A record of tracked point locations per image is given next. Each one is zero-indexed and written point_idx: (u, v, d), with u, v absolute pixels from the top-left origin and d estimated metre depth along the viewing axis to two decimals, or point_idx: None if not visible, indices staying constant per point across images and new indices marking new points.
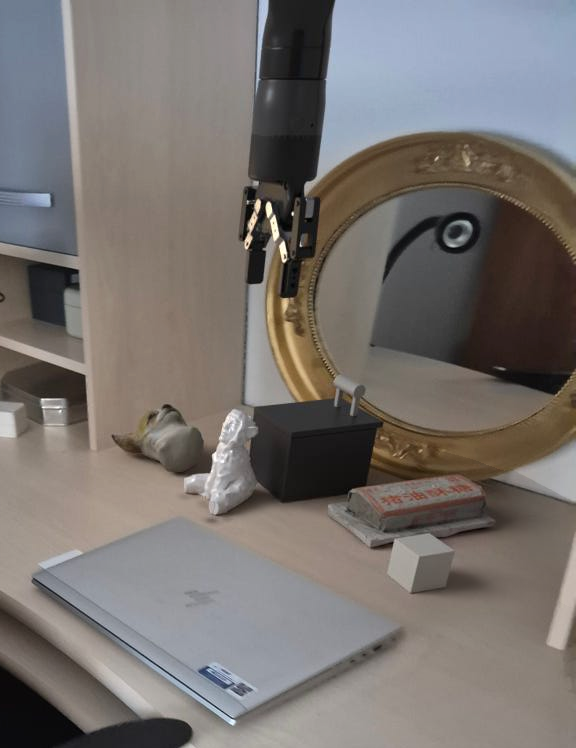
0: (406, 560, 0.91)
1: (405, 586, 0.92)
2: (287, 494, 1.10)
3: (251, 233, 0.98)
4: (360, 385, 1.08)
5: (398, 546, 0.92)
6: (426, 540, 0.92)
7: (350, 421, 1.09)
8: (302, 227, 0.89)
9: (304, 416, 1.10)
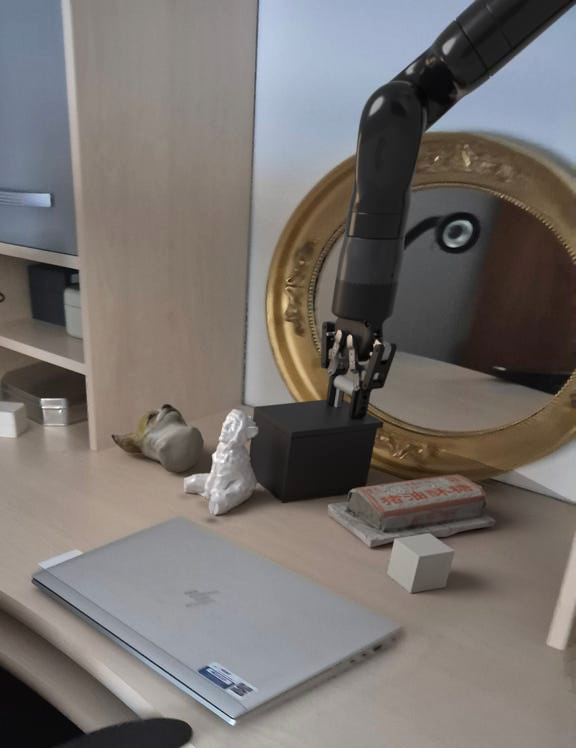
0: (406, 560, 0.91)
1: (405, 586, 0.92)
2: (287, 494, 1.10)
3: (334, 360, 1.10)
4: None
5: (398, 546, 0.92)
6: (426, 540, 0.92)
7: (350, 421, 1.09)
8: (377, 368, 1.03)
9: (304, 417, 1.10)
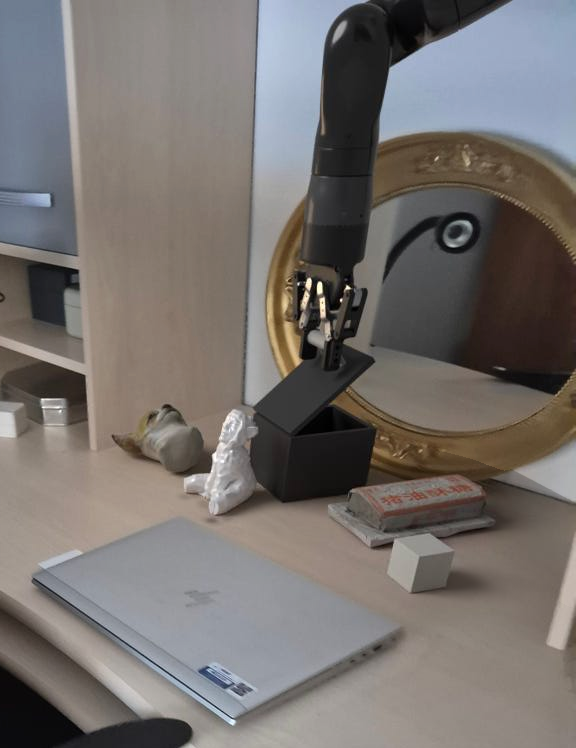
0: (406, 560, 0.91)
1: (405, 586, 0.92)
2: (287, 494, 1.10)
3: (305, 311, 1.05)
4: None
5: (398, 546, 0.92)
6: (426, 540, 0.92)
7: (341, 378, 1.05)
8: (348, 315, 0.98)
9: (299, 396, 1.08)
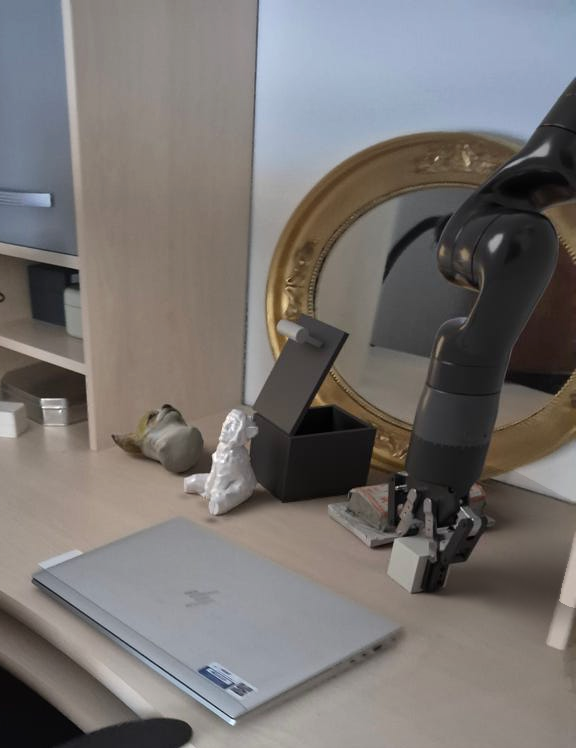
0: (406, 560, 0.91)
1: (405, 586, 0.92)
2: (287, 494, 1.10)
3: (406, 522, 0.91)
4: (297, 333, 1.02)
5: (398, 546, 0.92)
6: (426, 540, 0.92)
7: (321, 362, 1.03)
8: (461, 544, 0.84)
9: (288, 389, 1.07)
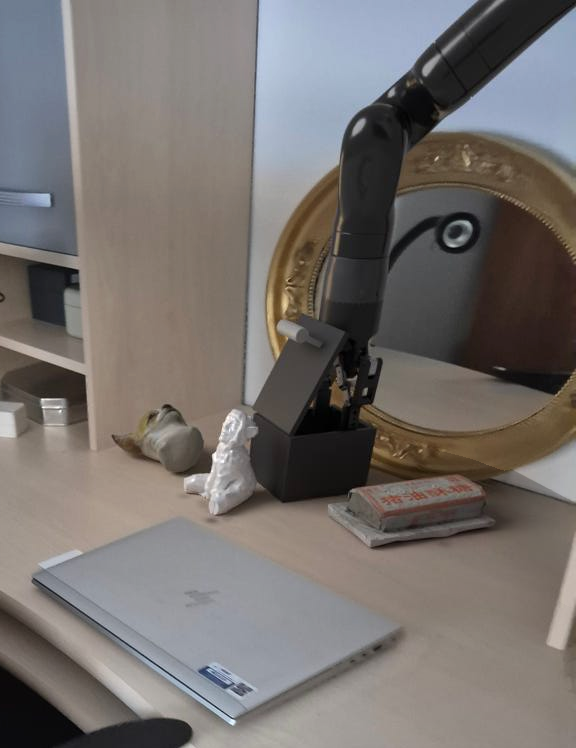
0: None
1: None
2: (287, 494, 1.10)
3: None
4: (297, 333, 1.02)
5: None
6: None
7: (321, 362, 1.03)
8: (365, 383, 1.03)
9: (288, 389, 1.07)
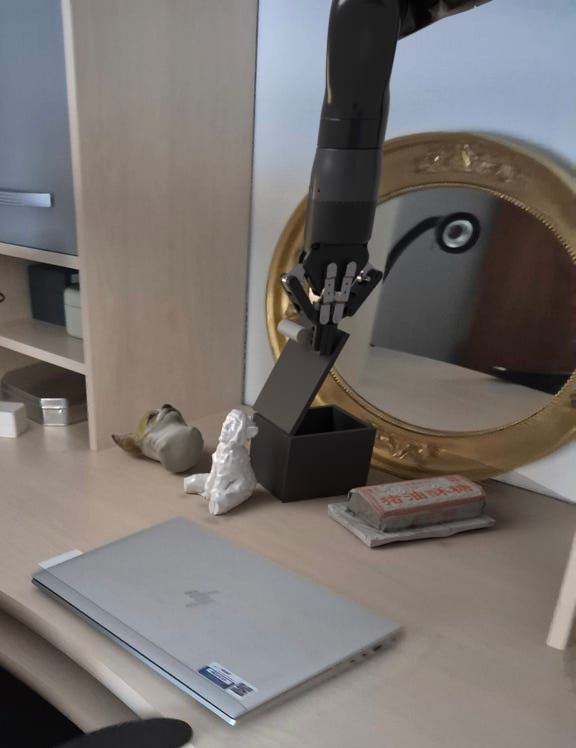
0: None
1: None
2: (287, 494, 1.10)
3: None
4: (298, 333, 1.02)
5: None
6: None
7: (321, 362, 1.03)
8: (290, 298, 0.98)
9: (289, 390, 1.07)
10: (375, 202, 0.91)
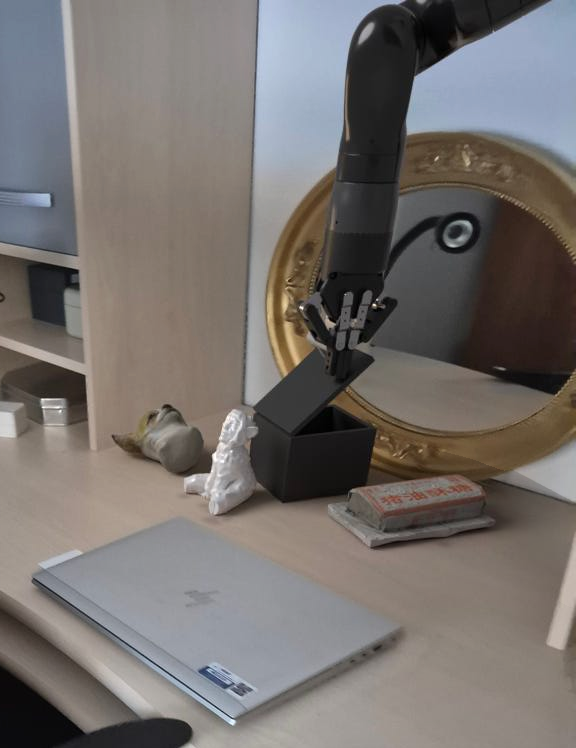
0: None
1: None
2: (287, 494, 1.10)
3: None
4: None
5: None
6: None
7: None
8: (307, 324, 1.00)
9: (298, 396, 1.08)
10: (391, 233, 0.94)
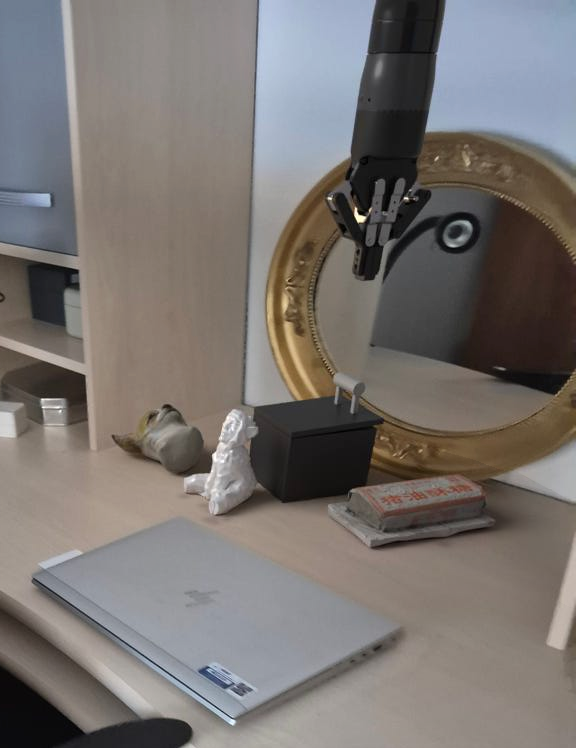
0: None
1: None
2: (287, 494, 1.10)
3: None
4: (359, 382, 1.08)
5: None
6: None
7: (350, 419, 1.09)
8: (335, 218, 0.95)
9: (305, 415, 1.10)
10: (427, 112, 0.88)
